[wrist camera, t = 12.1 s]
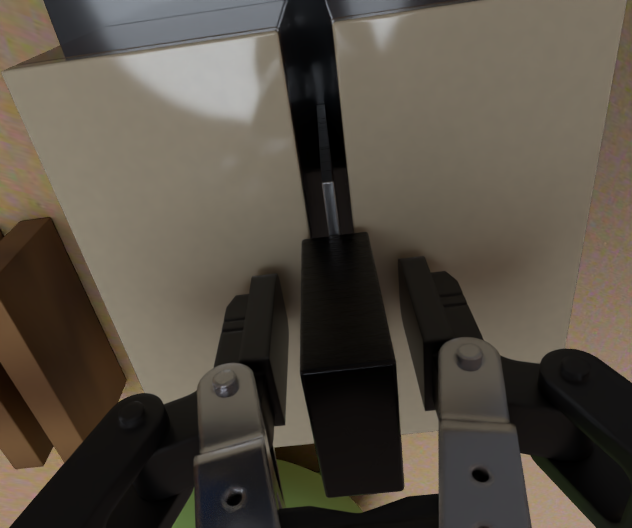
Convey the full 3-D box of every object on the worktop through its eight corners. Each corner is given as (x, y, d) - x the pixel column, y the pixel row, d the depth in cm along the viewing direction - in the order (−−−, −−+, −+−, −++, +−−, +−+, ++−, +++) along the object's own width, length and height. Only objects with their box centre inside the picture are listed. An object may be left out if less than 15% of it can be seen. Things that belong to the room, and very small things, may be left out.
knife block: (-34, 227, 22) (-113, 295, 18) (50, 216, 22) (-11, 283, 18) (59, 388, 28) (14, 469, 23) (127, 381, 27) (94, 461, 23)
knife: (296, 107, 19) (285, 309, 9) (344, 101, 19) (392, 297, 8) (320, 266, 22) (332, 536, 12) (361, 261, 22) (407, 529, 12)
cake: (49, -18, 17) (-102, 7, 11) (561, -98, 16) (727, -122, 10) (184, 353, 26) (146, 486, 20) (517, 315, 25) (588, 442, 19)
